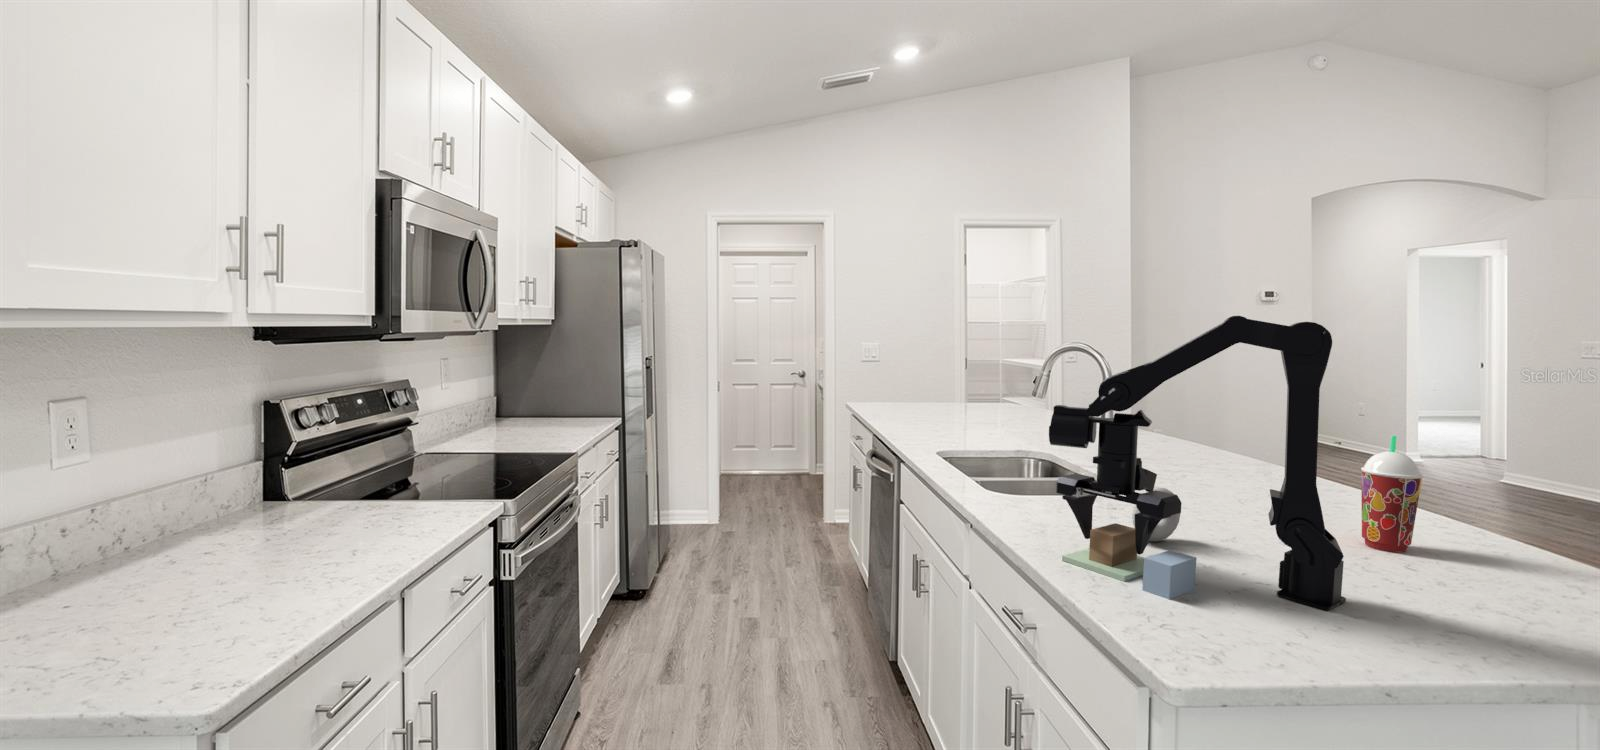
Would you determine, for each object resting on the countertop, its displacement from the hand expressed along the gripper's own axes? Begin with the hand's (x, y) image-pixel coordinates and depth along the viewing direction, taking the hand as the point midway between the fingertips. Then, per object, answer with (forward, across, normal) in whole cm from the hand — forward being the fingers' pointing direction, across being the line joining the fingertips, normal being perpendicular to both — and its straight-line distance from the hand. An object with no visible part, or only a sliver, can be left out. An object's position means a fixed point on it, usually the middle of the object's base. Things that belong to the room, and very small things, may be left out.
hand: (1113, 545), depth 115 cm
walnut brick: (+2, 0, 0) cm, 2 cm away
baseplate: (+3, 0, 0) cm, 3 cm away
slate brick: (+3, -11, +3) cm, 12 cm away
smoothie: (+3, -21, -50) cm, 54 cm away
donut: (+3, +3, -18) cm, 19 cm away
